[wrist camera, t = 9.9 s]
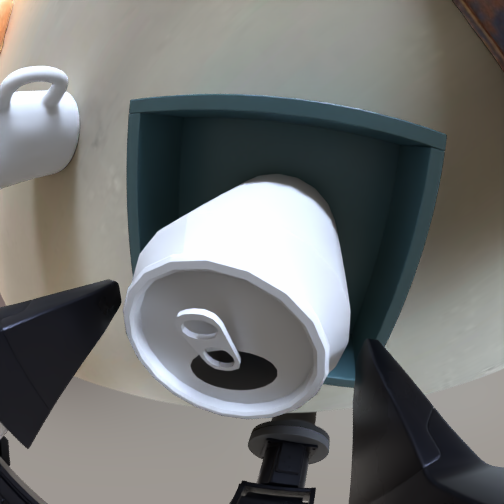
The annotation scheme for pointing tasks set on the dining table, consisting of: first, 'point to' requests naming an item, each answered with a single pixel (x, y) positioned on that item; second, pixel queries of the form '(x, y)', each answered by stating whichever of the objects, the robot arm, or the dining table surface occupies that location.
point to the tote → (306, 169)
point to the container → (486, 23)
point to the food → (4, 18)
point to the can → (243, 300)
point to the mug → (36, 125)
